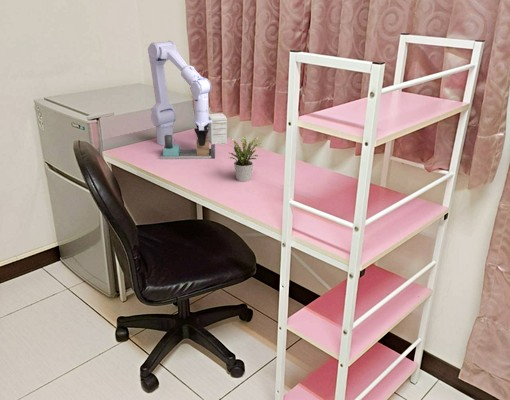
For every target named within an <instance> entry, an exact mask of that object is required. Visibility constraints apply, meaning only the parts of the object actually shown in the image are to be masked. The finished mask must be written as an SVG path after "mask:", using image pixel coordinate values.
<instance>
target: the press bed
mask: <svg viewBox="0 0 510 400" xmlns="http://www.w3.org/2000/svg"><path fill="white" fill-rule="evenodd" d="M210 144H211V143H210ZM163 149H164V148H162V151H161V155H160V156H159V160H201V159H202V160H209V159H210V160H211V159H213V160H214V159H215V160H216V144H211V146H210V148H209V156H197V148H180V153H179V156H163Z"/></svg>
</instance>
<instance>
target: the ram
mask: <svg viewBox="0 0 510 400" xmlns="http://www.w3.org/2000/svg"><path fill="white" fill-rule="evenodd" d="M163 146H164V147H163V148H162V149H163V156H179V153H180V149H181V147H180V144H174V143H173V144H172V135H165V145H163Z"/></svg>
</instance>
